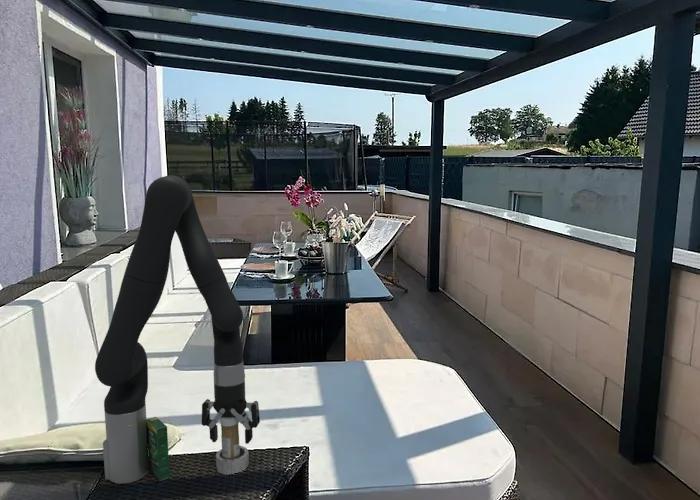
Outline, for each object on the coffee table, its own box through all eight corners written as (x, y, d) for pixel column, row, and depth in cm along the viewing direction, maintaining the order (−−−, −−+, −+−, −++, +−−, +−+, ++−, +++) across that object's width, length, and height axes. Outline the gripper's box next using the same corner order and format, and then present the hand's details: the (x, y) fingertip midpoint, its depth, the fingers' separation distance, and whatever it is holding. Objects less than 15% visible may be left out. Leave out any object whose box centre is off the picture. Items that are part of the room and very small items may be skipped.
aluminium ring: (212, 474, 127) (211, 460, 126) (223, 457, 134) (222, 445, 134) (243, 475, 126) (242, 461, 126) (252, 459, 134) (251, 446, 133)
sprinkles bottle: (243, 467, 130) (241, 416, 128) (225, 473, 127) (223, 421, 126) (236, 459, 133) (234, 410, 132) (219, 465, 131) (217, 414, 129)
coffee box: (148, 468, 130) (145, 418, 128) (159, 464, 132) (157, 415, 130) (158, 482, 123) (155, 429, 122) (170, 477, 125) (167, 426, 124)
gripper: (195, 384, 125) (198, 447, 127) (253, 385, 123) (254, 450, 125) (207, 373, 132) (209, 433, 134) (261, 374, 131) (263, 435, 133)
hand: (231, 441), depth 130 cm, fingers open, 8 cm apart
